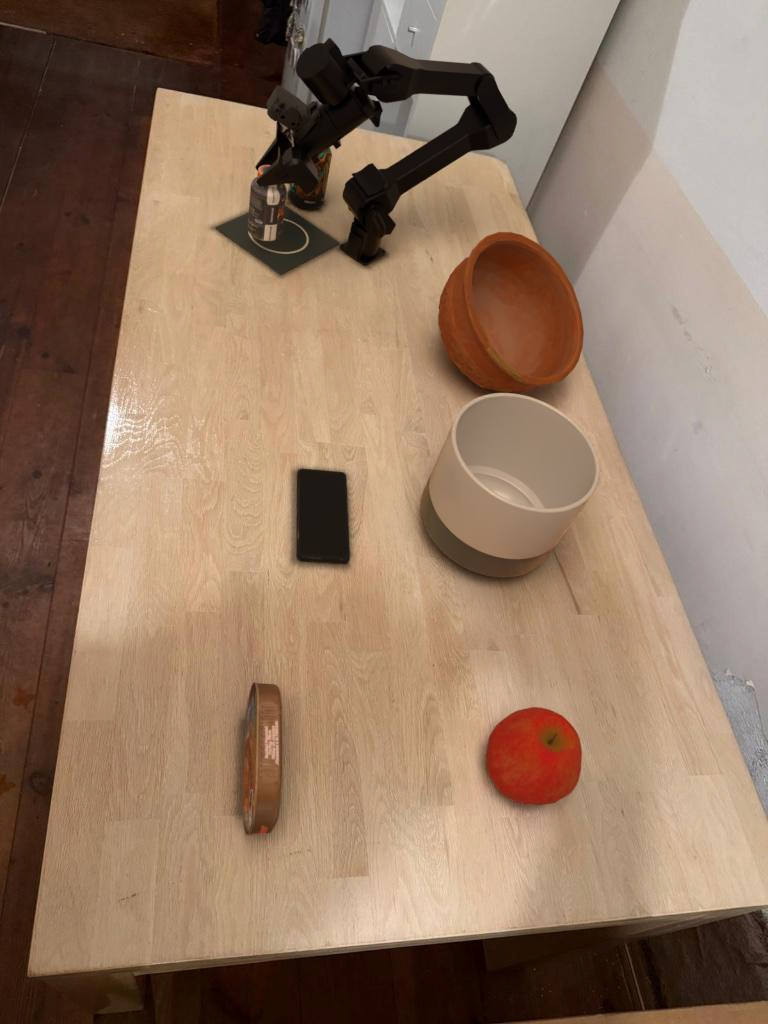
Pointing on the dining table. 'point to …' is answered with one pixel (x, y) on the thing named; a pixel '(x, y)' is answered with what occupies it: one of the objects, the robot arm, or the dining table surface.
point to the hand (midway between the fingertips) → (257, 176)
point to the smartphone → (322, 516)
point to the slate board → (281, 241)
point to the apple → (534, 756)
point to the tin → (262, 759)
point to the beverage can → (318, 196)
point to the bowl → (511, 316)
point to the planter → (508, 484)
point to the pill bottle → (266, 209)
